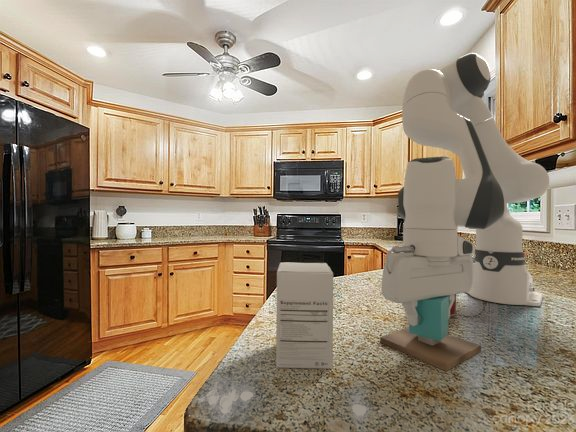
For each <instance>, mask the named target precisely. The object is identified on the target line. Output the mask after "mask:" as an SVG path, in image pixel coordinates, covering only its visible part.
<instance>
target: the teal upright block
mask: <svg viewBox="0 0 576 432" xmlns="http://www.w3.org/2000/svg"><path fill="white" fill-rule="evenodd" d="M415 308H416V311H417V314H419V315H421V324H420V325H416V326H413V325H410V324H408V327H409V333H412V334H416V335H419V336H423V337H427V338H431V339H434V340H438V341H442V339H443V338H444V337H445V336H446V335H447V334H448V333H449V320H450V318H449V296H441V297H435V298H429V299H423V300H417V306H416V307H415Z"/></svg>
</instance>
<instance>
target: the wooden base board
mask: <svg viewBox="0 0 576 432" xmlns="http://www.w3.org/2000/svg"><path fill="white" fill-rule="evenodd" d="M379 343H380V344H383V345H385V346H387V347H390V348H392V349H394V350H397V351H399V352H400V353H403V354H405V355H408V356H410V357H413V358H414V359H417V360H420V361H422V362H424V363H426V364H429V365H431V366H433V367H435V368H438V369H441V370H443V371H445V372H448V371H449V370H451V369H452V368H454V367H456V366H458V365H460V364H462V363H464V362H465V361H466V360H468V359H470V358H471V357H473V356H475V355H477V354H478V353H481V352H482V344H478V343H475V342H472V341H469V340H466V339H462V338H460V337H456V336H454V335H452V334H451V335H450V334H448V333H447V335H446V336H445V337H444V338H443V339H442V341H438V340H434V339H431V338H427V337H423V336H419V335H416V334H412V333H409V326H407V327H404V328H402V329H399V330H396V331H393V332H391V333H388V334H386V335H382V336H380V337H379Z"/></svg>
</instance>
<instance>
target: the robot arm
mask: <svg viewBox="0 0 576 432" xmlns="http://www.w3.org/2000/svg"><path fill="white" fill-rule="evenodd" d="M490 82H491V69H490V66H489V63H488V62H487V61H486V59H484V57H482V56H481V55H480V54H478V53H475V52H470V53H467V54H465V55H463V56H460V57H458V58H457V59H456V60H455V61H453V62H452V63H450V64H448V65H446V66H444V67H443V68H440V69H439V70H437V69H433V68H432V69H431V68H429V69H423V70H420V71H419V72H416V73H415V74H414V75H413V76H412V77H411V78H410V79H409V81H408V83H407V85H406V88H405V91H404V95H403V101H402V109H401V110H402V111H401V121H402V129H403V131H404V134H405V135H406V136H407V138H409V139H410V140H411V141H412V142H414V143H416V144H418V145H421V146H425V147H431V148H432V147H433V148H438V149H441V150H442V149H443V150H445V151H449V152H451V153H453V154H455V155H456V156H457V157H458V159H459V162H460V165H461V168H462V170H463V174H464V177H463V178H459V179H458V178H457V174H456V169H455V165H454V160H453V159H452V158H450V157H449V156H431V157H430V156H429V157H419V158H417V157H416V158H413V159H411V160H409V161H408V162H407V165H406V170H405V174H404V175H405V177H404V185H403V187H402V188H400V189H399V190H398V191H397V196H398V198H397V199H398V200H397V201H398V204H397V205H398V206H397V208H398V209H397V215H398V216H399V217H400V218H401V219H402V220H404V222H403V226H402V227H403V228H402V229H403V231H402V240H403V242H402V245H403V246H399V245H396V246H392V247H391V249H390V250H389V251H388V252H387V253H386V254H385V258H384V259H385V262H384V264H383V269H382V276H381V286H380V287H381V288H380V289H381V290H380V291H381V292H380V293H381V295H382V297H383V298H384V299H385V300H387V301H389V302H391V303H392V302H393V303H395V304H401V305H402V307H403V310H404V311H405V313H406V321H407V322H406V323H407V324H408V325H409V324H410V325H413V326H416V325H420V324H421V315H419V314H417V311H416V308H415V307H416V306H417V300H423V299H429V298H435V297H441V296H449V319H450V318H451V317H450V309H451V307H452V305H453V302H454V300H455V294H456V295H459V294H464V293H465V294H469V296H471V297H473V298H475V299H478V300H482V301H486V302H492V303H497V304H502V305H511V306H512V305H514V306H530V307H541V305H542V301H543V293H541V292H537V291H535V287H534V278H533V276H532V274H531V273H530V271H529V270H528V268H527V267H526V263H527V262H526V258H527V253H526V252H525V251H523V225H522V223H521V222H520V221H518V219H516V218H514V217H513V215H511V213H510V210H509V208H508V205H507V204H518V203H520V204H521V203H524V202H529V201H532V200H535V199H538V198H541V197H542V196H543V195H544V194H545V193H546V192H547V191H548V188H549V185H550V176H549V173H548V171H547V170H546V168H545V167H544V166H542V165H541V164H539V163H536V162H532V161H530V160H528V159H526V158H525V157H522V156H521V155H519V153H518V152H517V151H515V150H514V149H513V148H512V147H510V146H511V145H509V144H508V143H507V141H506V140H505V139H504V136H503V135H502V133H501V131H500V129H499V126H498V125H497V123H496V121H495V119H494V117H493V114H492V112H491V111H490V108H489V107H488V106H487V104H486V102H485V100H484V99H483V98H484V95H485V92H486V90H487V89H488V87H489V85H490ZM458 228H466V229H467V228H468V229H475V237H476V238H475V242H476V243H474V242H472V241H470V240H468V239H466V238H464V237H462V236H460V235H458V234H459V233H458ZM472 255H473V257H474V259H473V257H472Z"/></svg>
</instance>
